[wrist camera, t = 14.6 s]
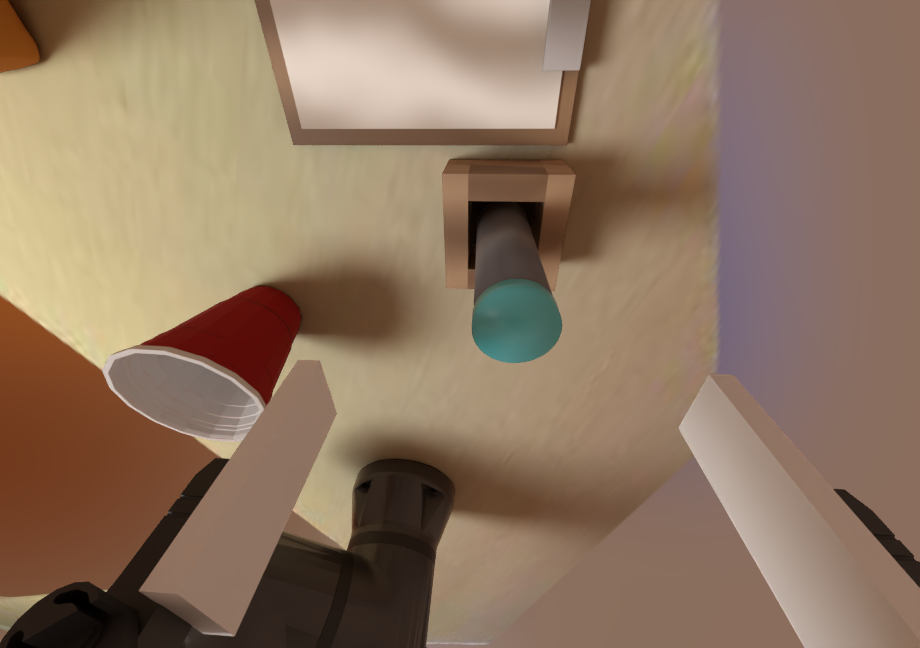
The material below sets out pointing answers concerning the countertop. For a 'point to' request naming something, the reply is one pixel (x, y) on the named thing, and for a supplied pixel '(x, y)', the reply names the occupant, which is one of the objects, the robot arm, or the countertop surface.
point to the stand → (505, 183)
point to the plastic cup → (210, 366)
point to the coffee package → (15, 41)
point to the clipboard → (426, 69)
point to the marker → (511, 289)
